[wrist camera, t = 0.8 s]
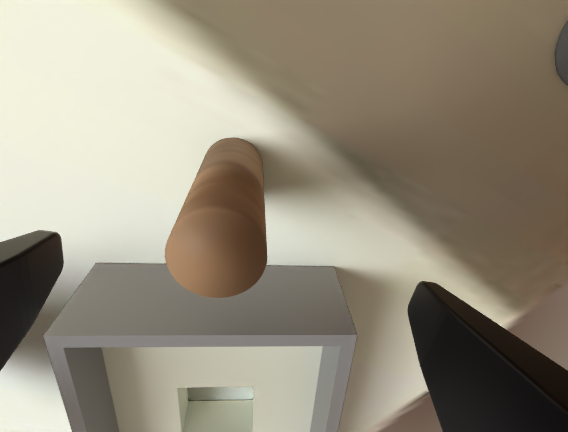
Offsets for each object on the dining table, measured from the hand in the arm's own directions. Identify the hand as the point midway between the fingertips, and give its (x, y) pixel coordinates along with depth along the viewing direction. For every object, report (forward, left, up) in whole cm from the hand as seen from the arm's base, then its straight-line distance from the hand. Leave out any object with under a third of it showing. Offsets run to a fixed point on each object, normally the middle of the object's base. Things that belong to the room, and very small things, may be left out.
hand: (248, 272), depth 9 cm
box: (-2, -20, -13) cm, 24 cm away
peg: (-1, -2, -13) cm, 13 cm away
